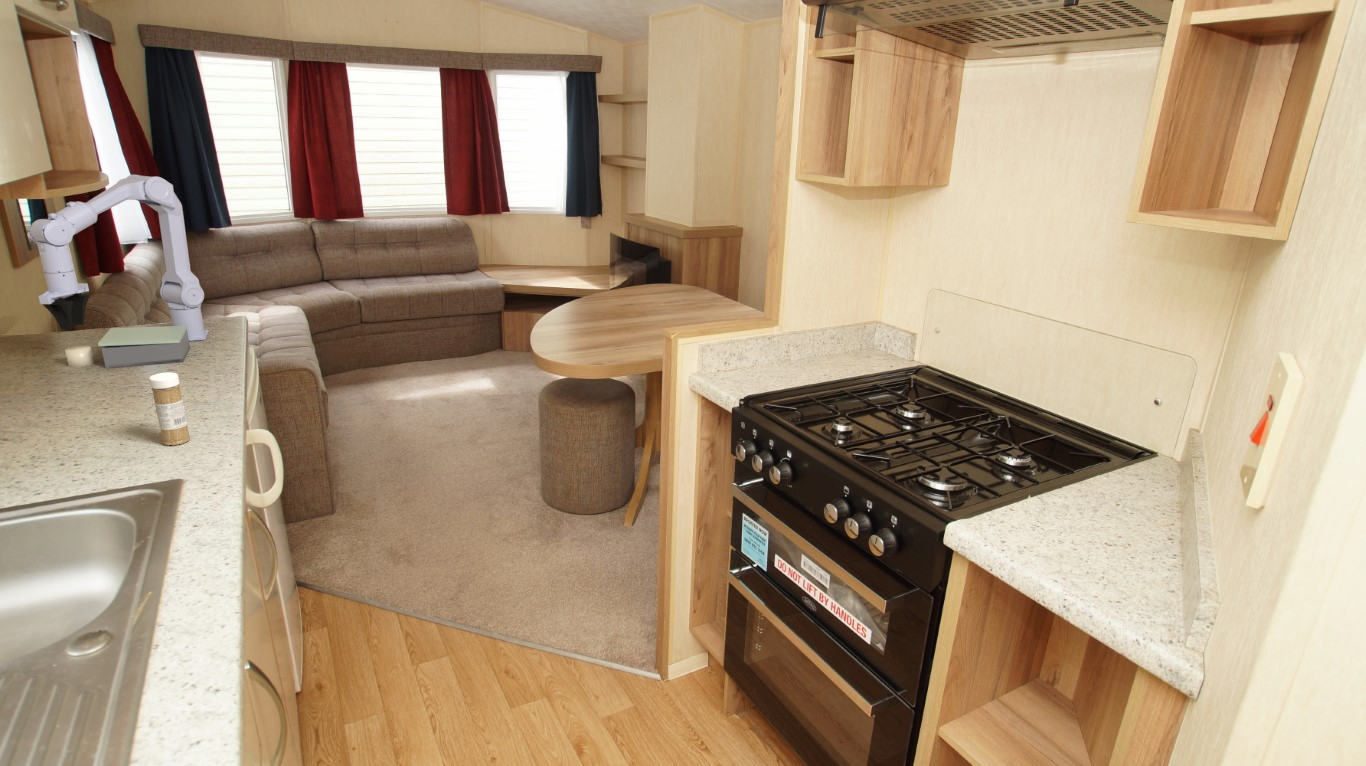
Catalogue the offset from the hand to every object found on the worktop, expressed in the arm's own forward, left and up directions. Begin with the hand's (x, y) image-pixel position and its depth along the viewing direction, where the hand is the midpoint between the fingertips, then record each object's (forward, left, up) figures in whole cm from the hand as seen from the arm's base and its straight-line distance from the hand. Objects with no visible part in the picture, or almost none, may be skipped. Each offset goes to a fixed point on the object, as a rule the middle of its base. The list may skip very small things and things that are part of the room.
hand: (72, 326), depth 182 cm
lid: (-1, +14, -4) cm, 14 cm away
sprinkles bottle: (+62, +27, -10) cm, 68 cm away
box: (-1, +14, -9) cm, 17 cm away
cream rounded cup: (0, 0, -10) cm, 10 cm away
